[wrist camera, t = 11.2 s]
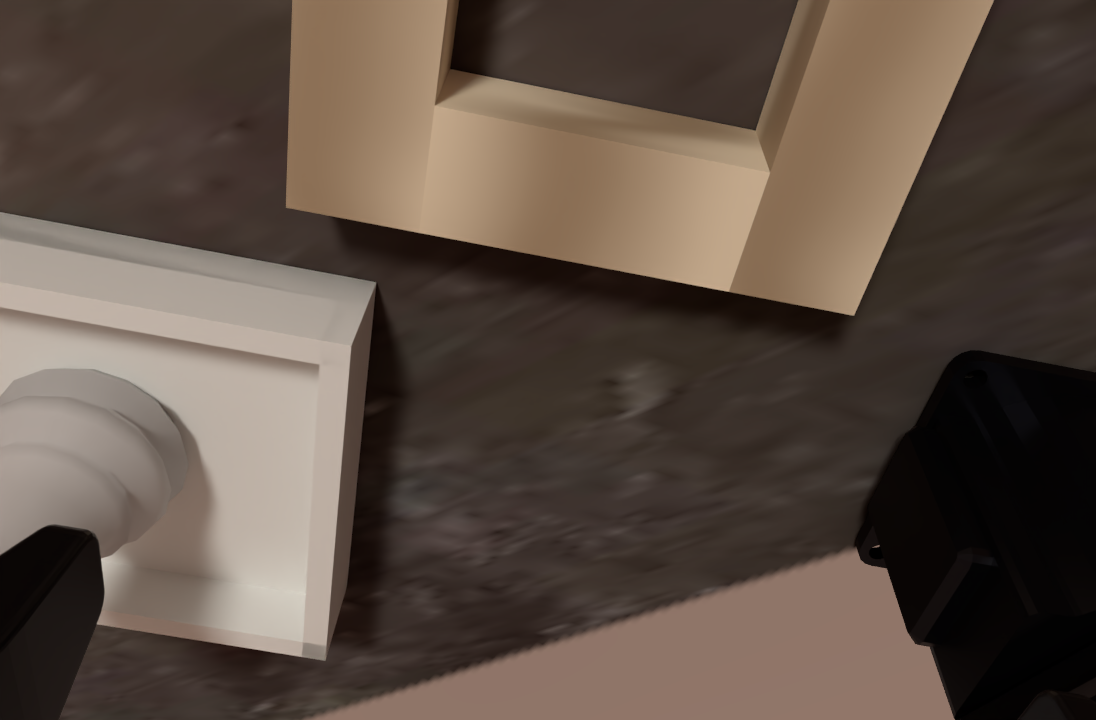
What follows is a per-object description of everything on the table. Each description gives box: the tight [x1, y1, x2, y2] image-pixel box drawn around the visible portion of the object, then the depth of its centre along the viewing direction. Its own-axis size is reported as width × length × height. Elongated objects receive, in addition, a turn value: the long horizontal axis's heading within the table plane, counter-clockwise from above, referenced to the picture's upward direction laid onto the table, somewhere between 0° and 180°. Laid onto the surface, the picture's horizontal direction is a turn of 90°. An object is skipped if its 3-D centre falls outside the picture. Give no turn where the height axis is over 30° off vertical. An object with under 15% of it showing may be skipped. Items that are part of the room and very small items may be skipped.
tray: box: [0, 212, 376, 660], centre depth 22 cm, size 12×10×2 cm
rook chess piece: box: [0, 368, 189, 558], centre depth 19 cm, size 4×4×8 cm
